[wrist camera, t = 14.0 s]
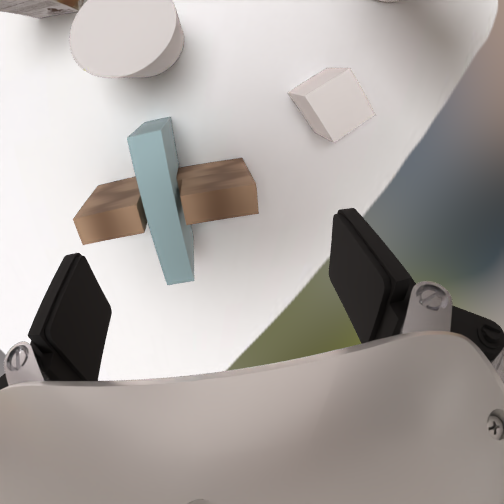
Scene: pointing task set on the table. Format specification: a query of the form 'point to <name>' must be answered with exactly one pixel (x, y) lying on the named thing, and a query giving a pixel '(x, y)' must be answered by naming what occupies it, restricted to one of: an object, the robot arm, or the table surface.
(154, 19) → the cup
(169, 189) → the teal slotted board
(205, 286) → the table surface
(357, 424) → the robot arm
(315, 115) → the white cube
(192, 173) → the walnut slotted board
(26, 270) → the table surface
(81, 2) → the coffee box
